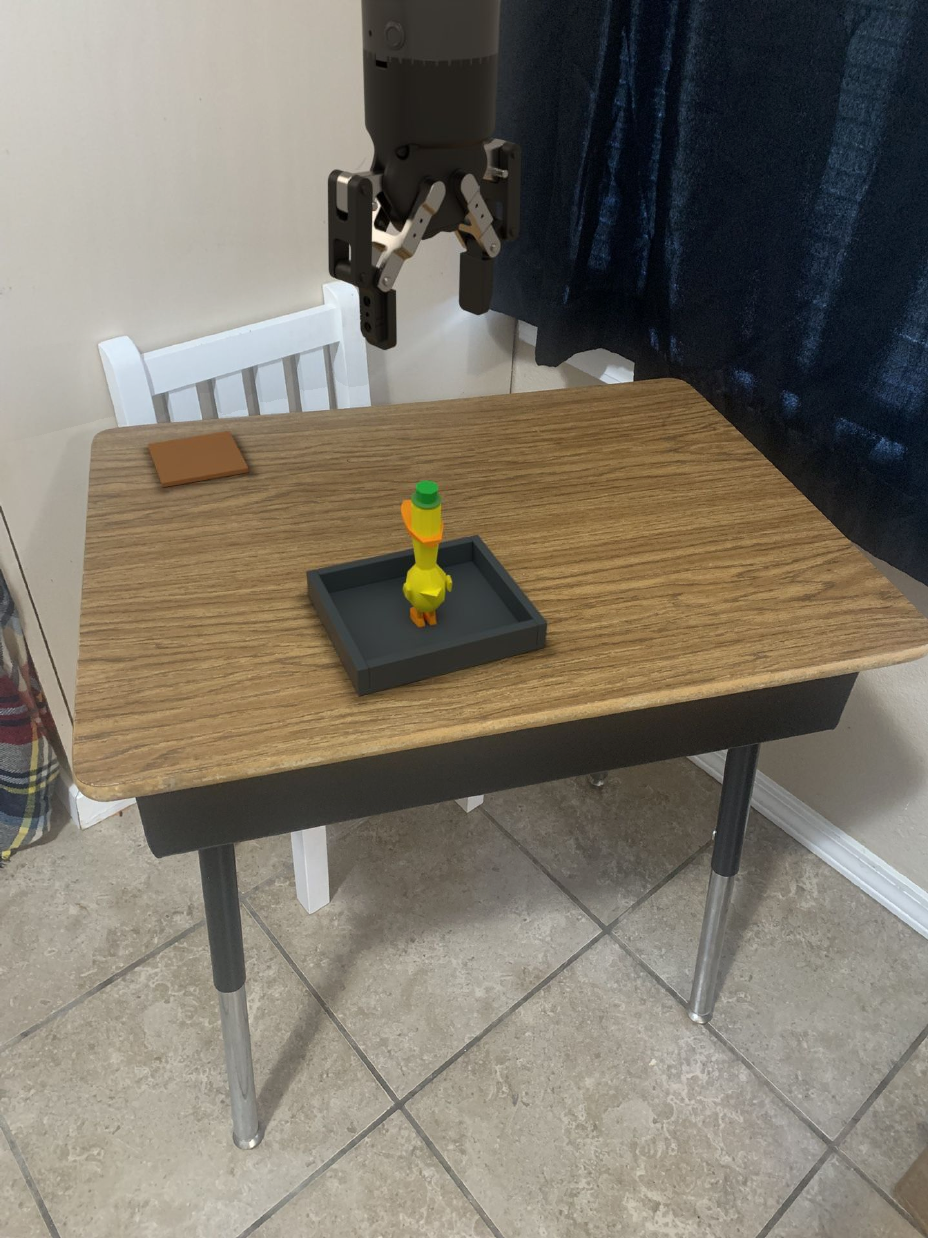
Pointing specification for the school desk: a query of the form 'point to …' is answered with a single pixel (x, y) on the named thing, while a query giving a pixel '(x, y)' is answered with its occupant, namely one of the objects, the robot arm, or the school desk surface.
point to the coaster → (197, 458)
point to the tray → (394, 645)
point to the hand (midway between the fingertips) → (428, 327)
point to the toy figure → (425, 553)
